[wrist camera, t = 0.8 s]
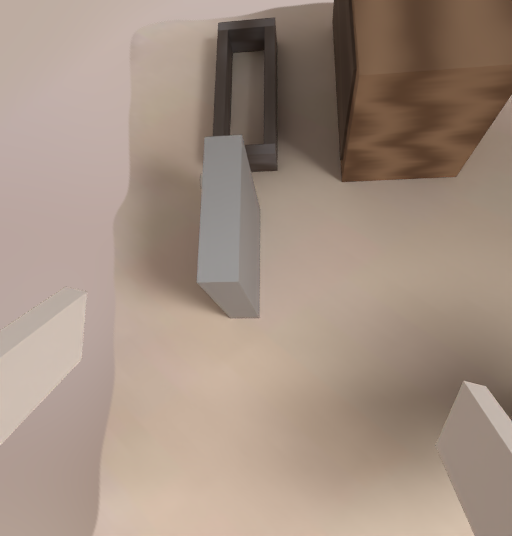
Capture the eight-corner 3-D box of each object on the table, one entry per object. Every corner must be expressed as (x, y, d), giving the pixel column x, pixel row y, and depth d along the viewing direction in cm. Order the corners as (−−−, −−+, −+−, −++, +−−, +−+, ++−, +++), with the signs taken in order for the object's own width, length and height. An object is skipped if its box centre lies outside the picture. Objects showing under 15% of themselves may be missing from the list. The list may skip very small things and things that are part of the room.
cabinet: (432, 16, 51) (485, -144, 36) (456, 176, 45) (532, 62, 30) (224, 34, 54) (192, -107, 39) (217, 187, 48) (176, 88, 33)
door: (260, 210, 46) (242, 134, 33) (259, 318, 43) (238, 281, 29) (222, 211, 47) (189, 137, 34) (218, 318, 43) (180, 282, 30)
